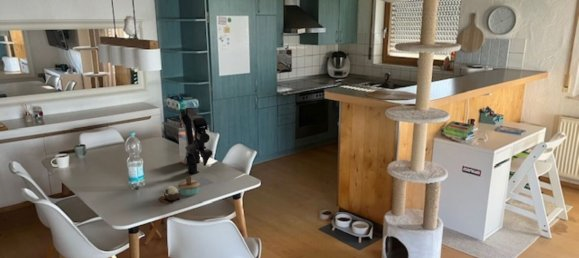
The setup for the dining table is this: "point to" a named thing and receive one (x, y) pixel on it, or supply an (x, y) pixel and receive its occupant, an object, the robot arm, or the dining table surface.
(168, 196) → the skull
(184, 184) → the lid
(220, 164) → the dining table surface
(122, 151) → the dining table surface
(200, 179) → the mat
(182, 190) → the bowl
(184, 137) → the cracker box
